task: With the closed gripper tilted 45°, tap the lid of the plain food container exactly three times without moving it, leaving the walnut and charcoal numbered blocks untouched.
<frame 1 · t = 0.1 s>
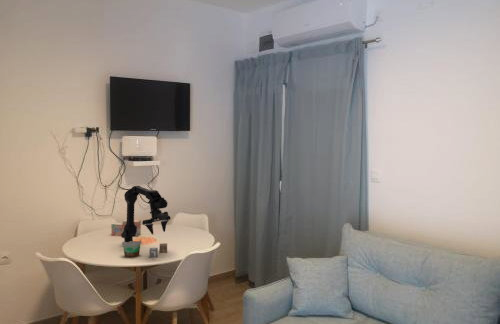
hand: (158, 233, 243), 15 cm above the table, tool pointing down, fingers open, 9 cm apart
walnut block numbered 1: (163, 251, 253), on the table
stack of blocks: (126, 235, 291), on the table
charcoal block numbered 7: (153, 256, 244), on the table
food container: (131, 256, 242), on the table
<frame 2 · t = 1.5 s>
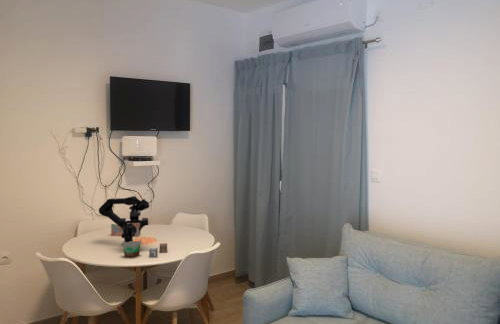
hand: (133, 232, 249), 14 cm above the table, tool tilted 45°, fingers open, 7 cm apart
nothing on the table moved.
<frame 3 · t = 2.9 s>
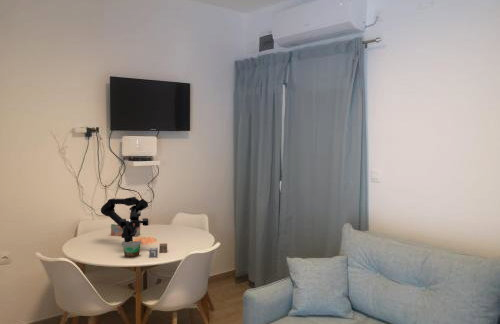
hand: (133, 233, 249), 13 cm above the table, tool tilted 45°, fingers closed
nothing on the table moved.
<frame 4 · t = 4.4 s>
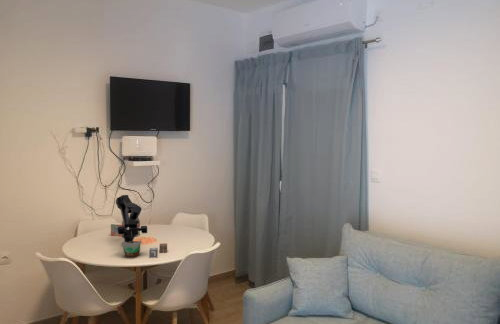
hand: (131, 241, 241), 10 cm above the table, tool tilted 45°, fingers closed, pressing on food container
food container: (131, 256, 242), on the table, touching gripper
everything else where it was.
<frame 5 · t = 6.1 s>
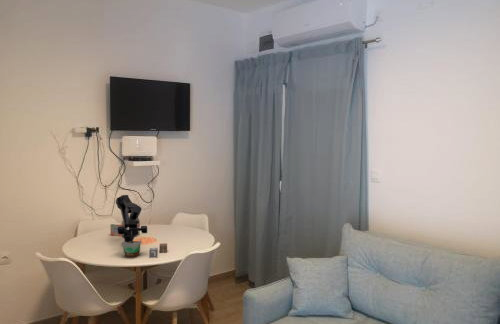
hand: (131, 241, 241), 10 cm above the table, tool tilted 45°, fingers closed, pressing on food container
food container: (131, 256, 242), on the table, touching gripper
everything else where it was.
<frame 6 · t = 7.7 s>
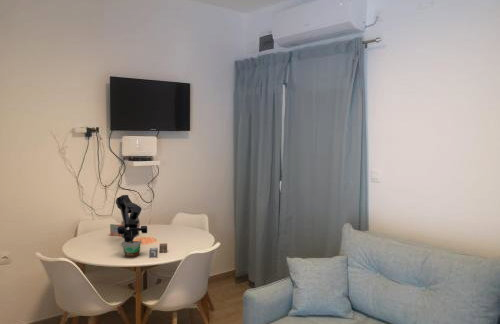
hand: (131, 241, 241), 10 cm above the table, tool tilted 45°, fingers closed, pressing on food container
food container: (131, 256, 242), on the table, touching gripper
everything else where it was.
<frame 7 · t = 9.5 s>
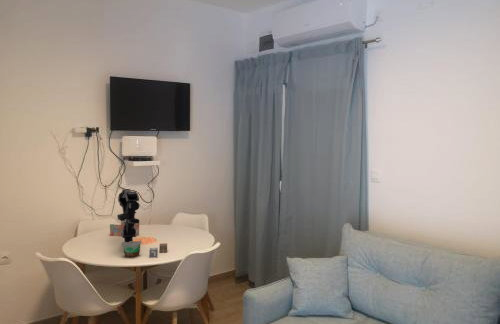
hand: (127, 232, 251), 13 cm above the table, tool pointing down, fingers closed
food container: (131, 256, 242), on the table
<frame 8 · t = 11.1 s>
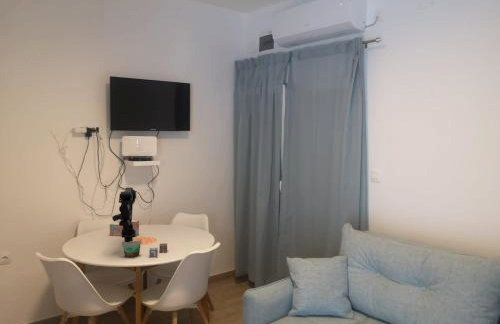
hand: (125, 232, 251), 13 cm above the table, tool pointing down, fingers closed
at the end: food container moved 0.2 cm from its start; food container tilted 0°; charcoal block numbered 7 moved 0.1 cm from its start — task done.
